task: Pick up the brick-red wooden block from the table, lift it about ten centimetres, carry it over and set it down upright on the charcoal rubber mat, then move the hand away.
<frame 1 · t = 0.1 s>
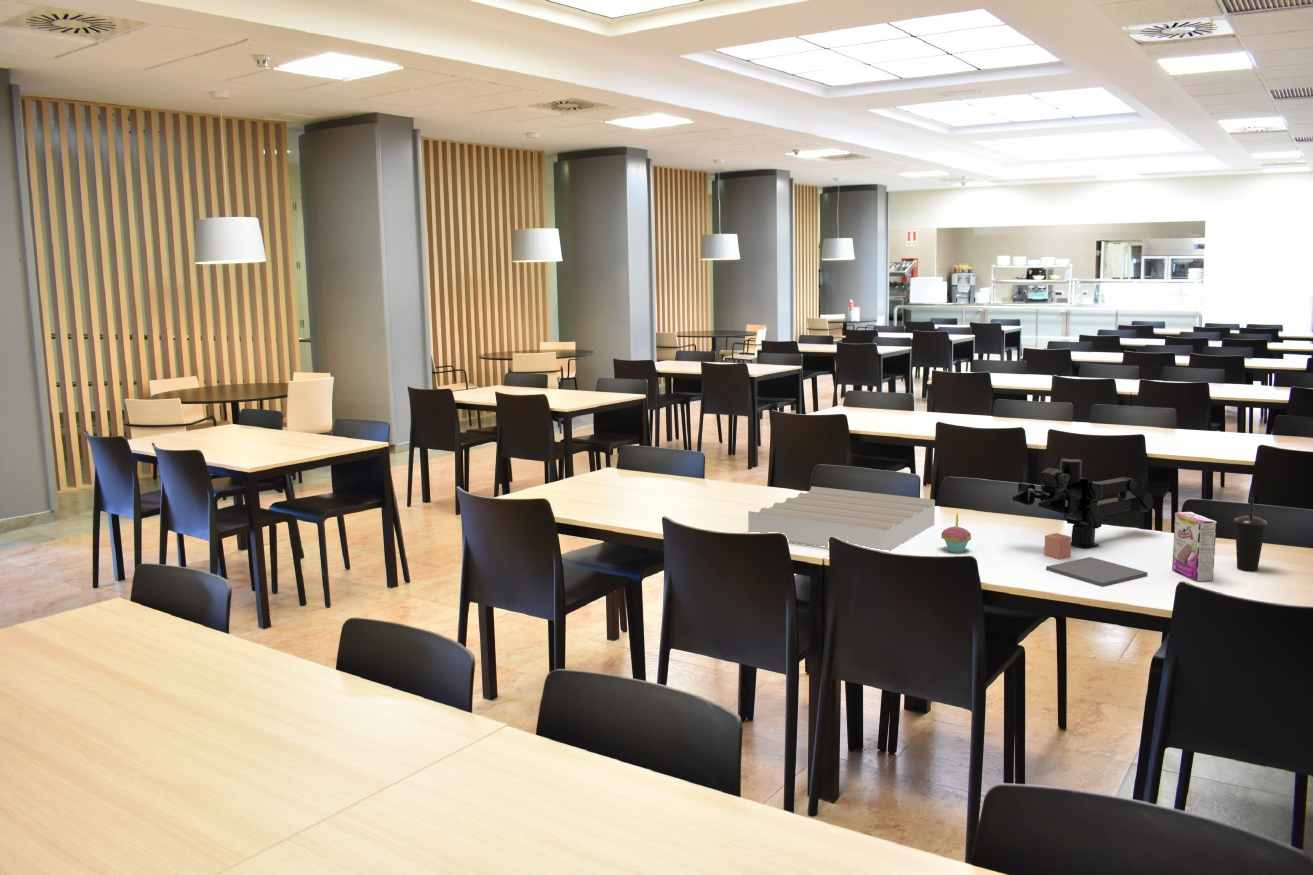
hand: (1025, 501, 281), 17 cm above the table, tool horizontal, fingers open, 9 cm apart
red block: (1057, 556, 284), on the table
mat: (1095, 572, 267), on the table
candy bar box: (1191, 576, 262), on the table
drinking cup: (1247, 569, 267), on the table
tray: (842, 532, 319), on the table
cupcake: (955, 550, 292), on the table
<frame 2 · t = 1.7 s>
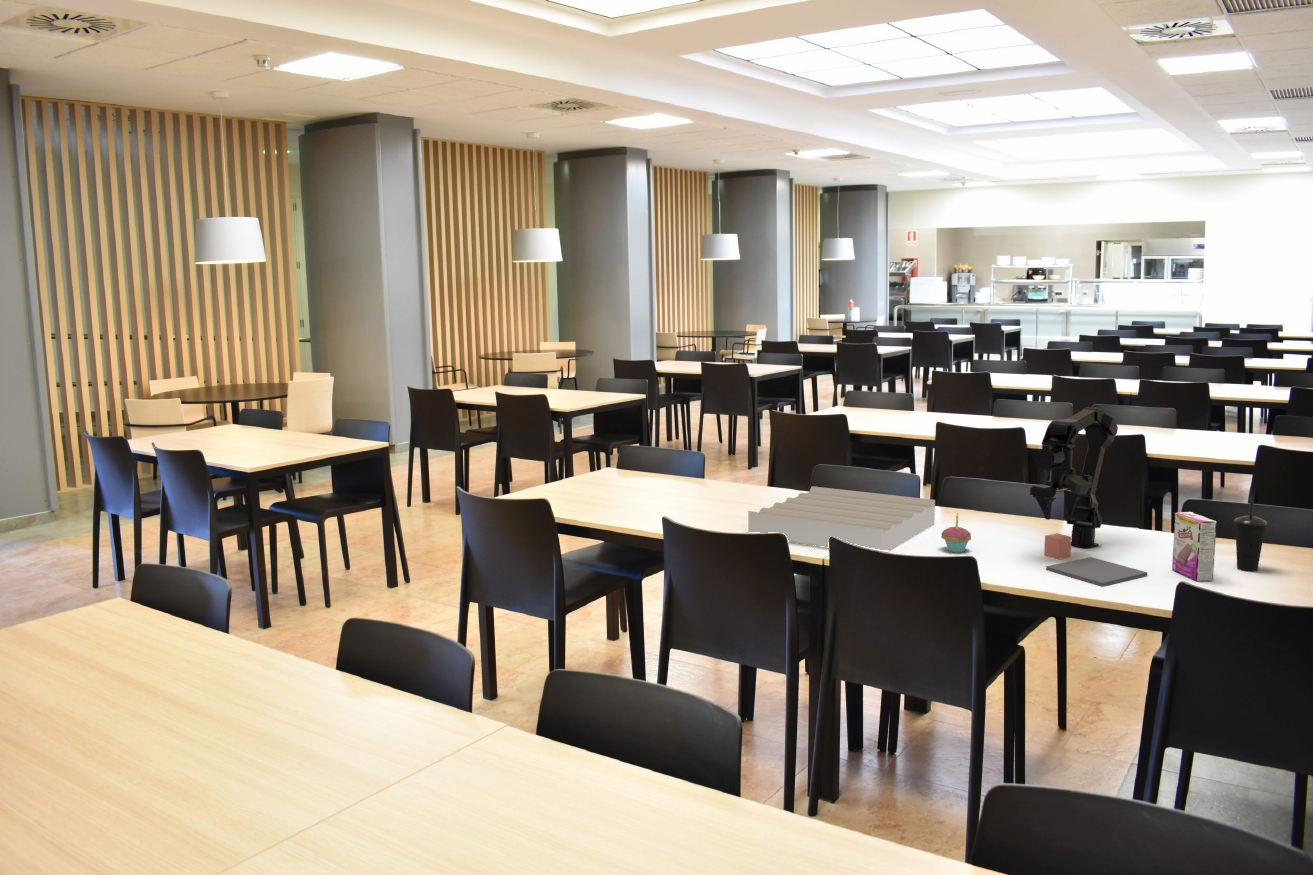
hand: (1058, 517, 282), 11 cm above the table, tool pointing down, fingers open, 9 cm apart
nothing on the table moved.
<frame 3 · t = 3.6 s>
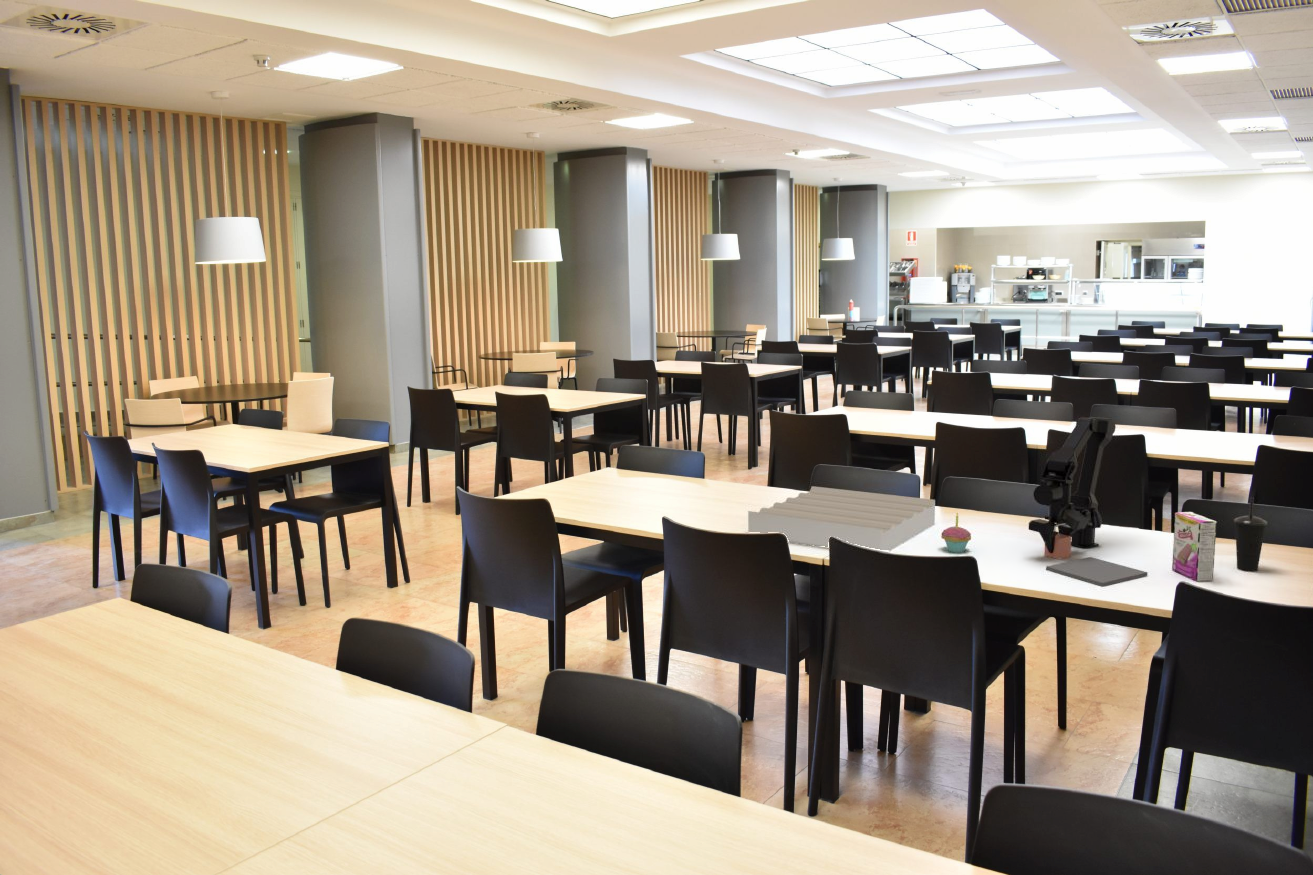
hand: (1057, 551, 284), 1 cm above the table, tool pointing down, fingers closed on red block, 5 cm apart
red block: (1057, 555, 284), on the table, touching gripper
everything else where it was.
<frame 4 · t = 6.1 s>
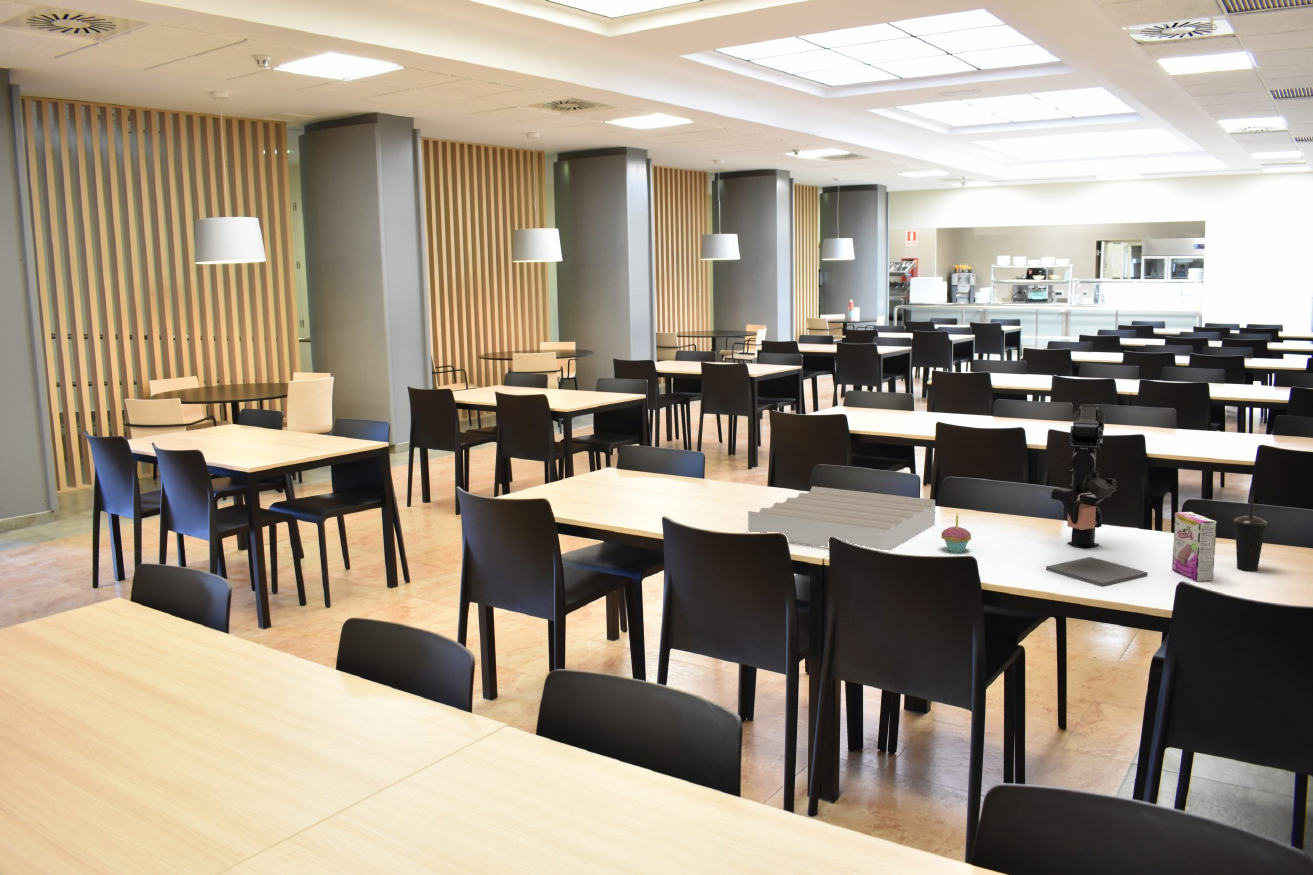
hand: (1081, 522, 271), 12 cm above the table, tool pointing down, fingers closed on red block, 5 cm apart
red block: (1081, 527, 272), point 11 cm above the table, touching gripper
everything else where it was.
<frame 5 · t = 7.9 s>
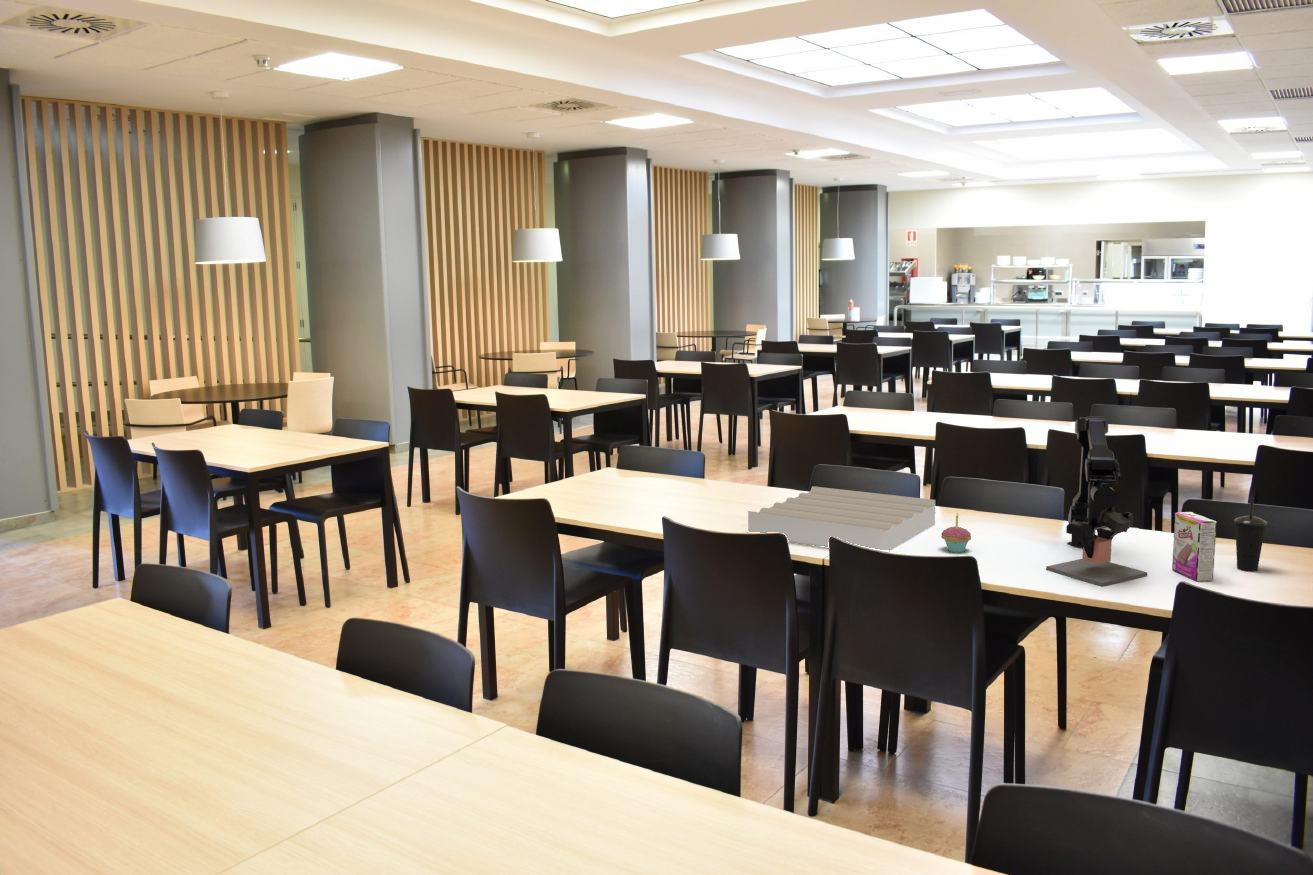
hand: (1096, 556, 266), 5 cm above the table, tool pointing down, fingers closed on red block, 5 cm apart
red block: (1096, 560, 266), point 3 cm above the table, touching gripper
everything else where it was.
when the fingers open (3 cm above the table, at t = 9.0 s): red block stays where it is, resting on mat.
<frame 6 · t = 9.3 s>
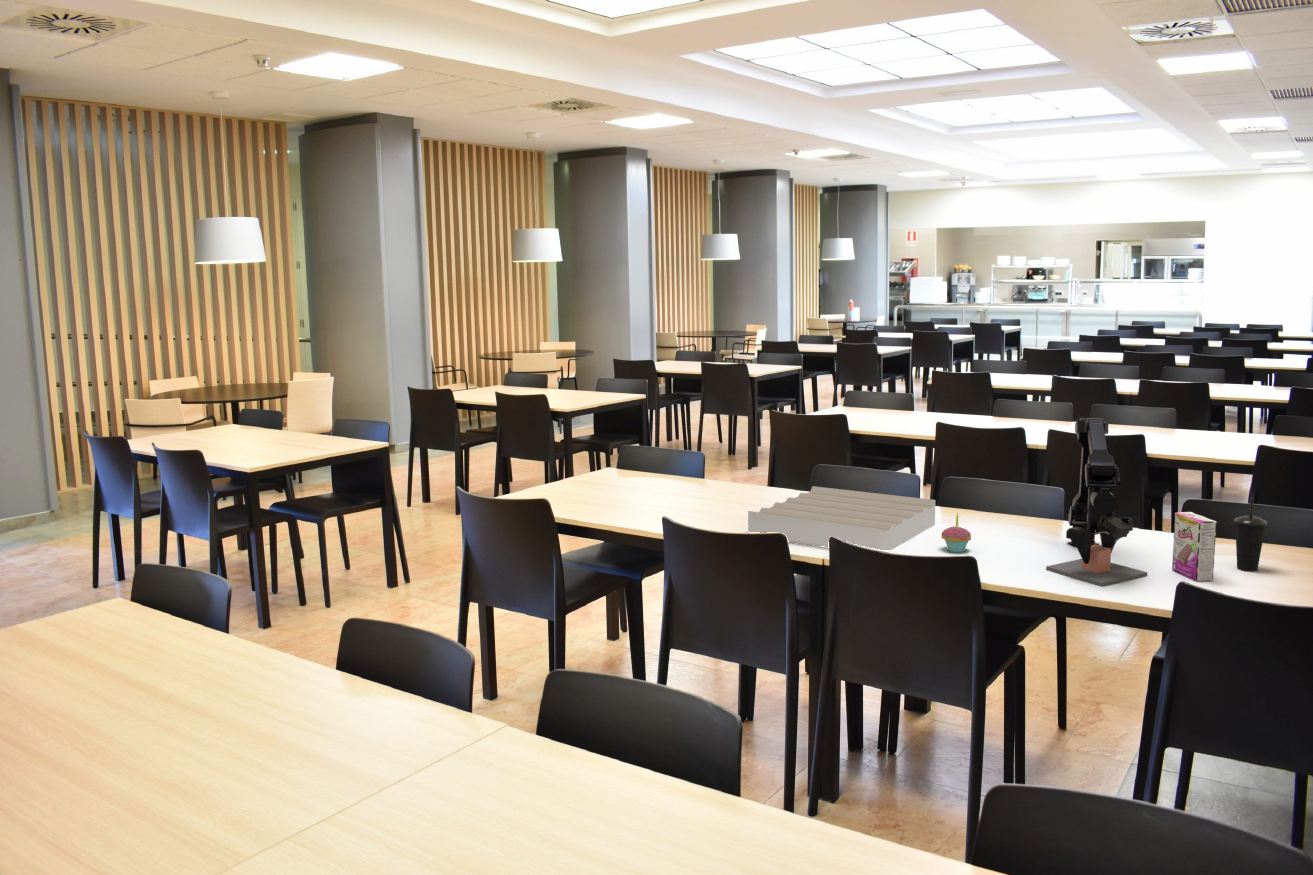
hand: (1096, 561, 266), 3 cm above the table, tool pointing down, fingers open, 8 cm apart
red block: (1095, 569, 267), point 1 cm above the table, touching mat
everything else where it was.
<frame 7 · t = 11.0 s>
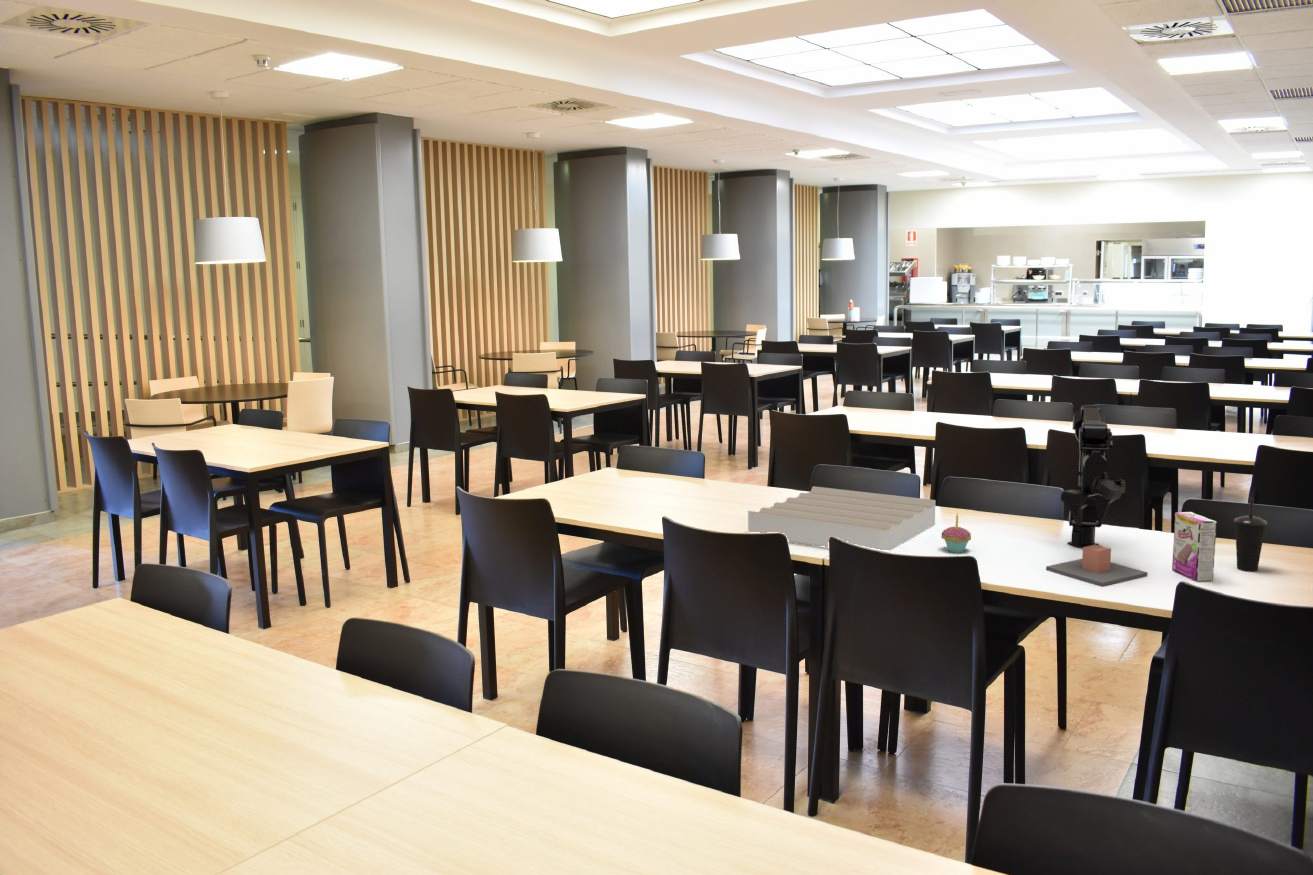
hand: (1090, 523, 273), 12 cm above the table, tool pointing down, fingers open, 9 cm apart
nothing on the table moved.
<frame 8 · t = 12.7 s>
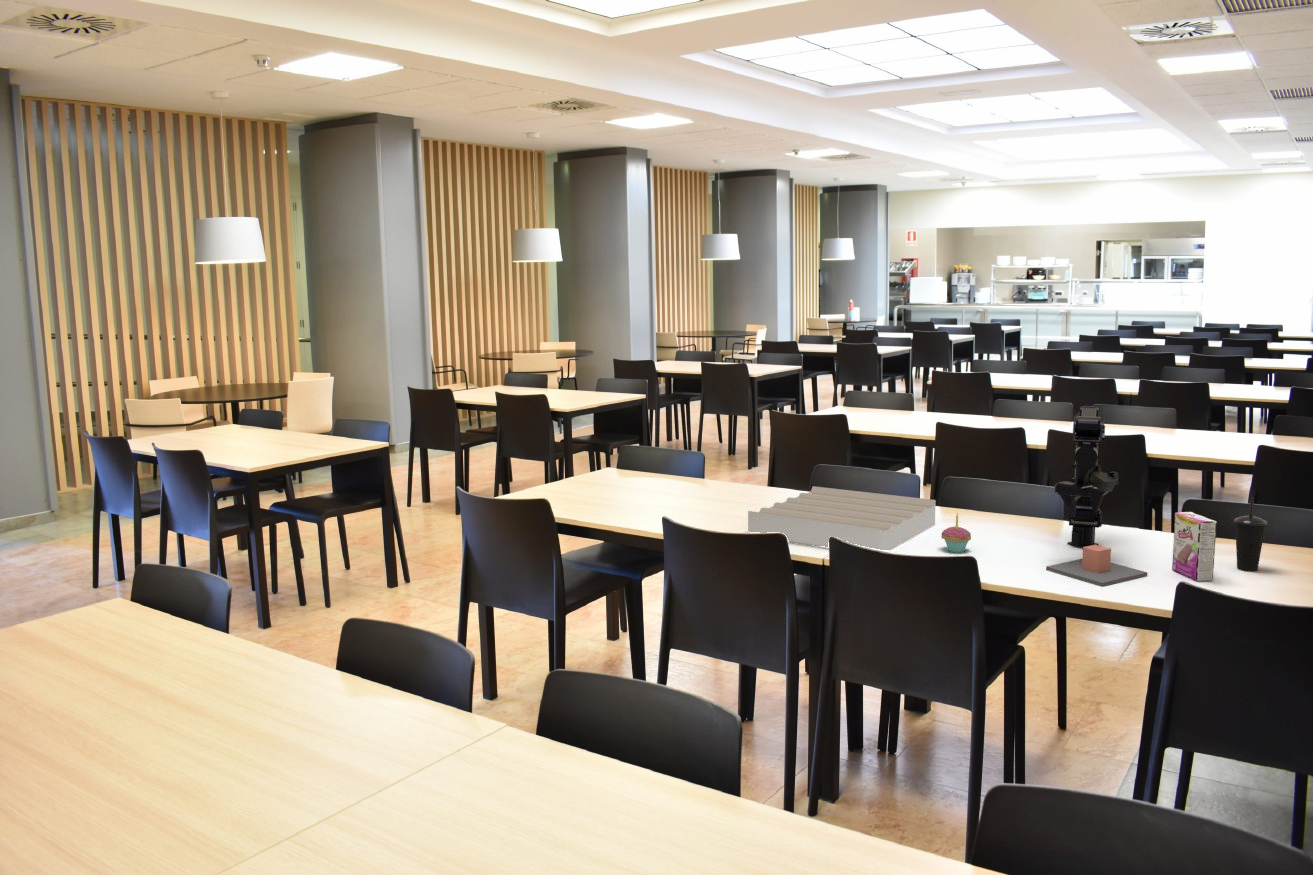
hand: (1083, 515, 278), 13 cm above the table, tool pointing down, fingers open, 9 cm apart
nothing on the table moved.
at the end: red block inside the target area on the mat (0.1 cm from its centre), point 1.0 cm above the mat's base; red block tilted 0°; the gripper is holding nothing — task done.
